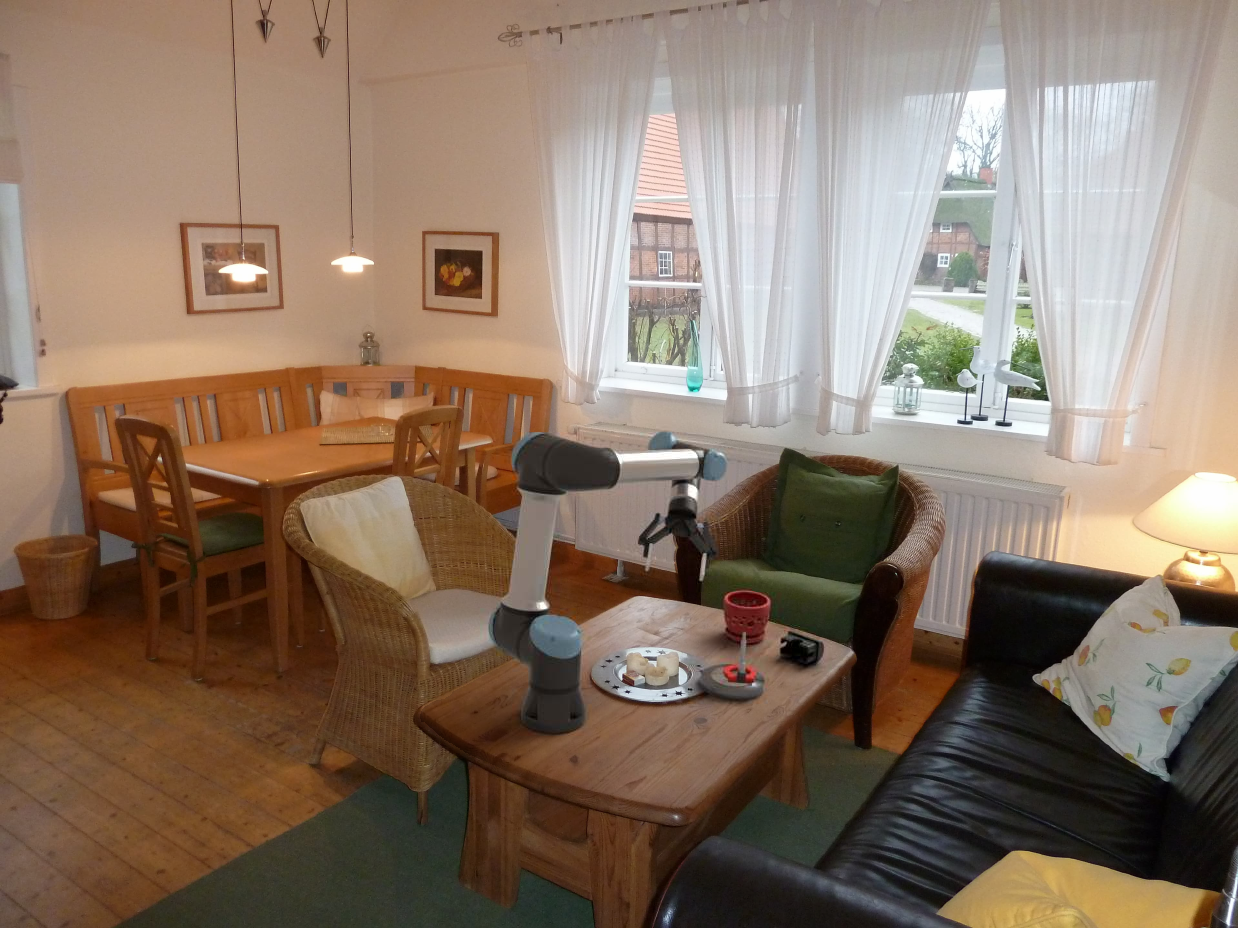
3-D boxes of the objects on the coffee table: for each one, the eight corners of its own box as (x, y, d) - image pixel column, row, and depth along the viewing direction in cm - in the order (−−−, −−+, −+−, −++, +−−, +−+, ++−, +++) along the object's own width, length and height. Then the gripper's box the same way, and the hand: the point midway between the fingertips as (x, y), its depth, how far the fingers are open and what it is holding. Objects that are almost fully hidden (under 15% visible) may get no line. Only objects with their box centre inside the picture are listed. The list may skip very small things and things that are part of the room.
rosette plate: (705, 700, 237) (705, 689, 237) (696, 672, 253) (697, 662, 252) (769, 701, 238) (770, 690, 238) (757, 673, 254) (757, 663, 253)
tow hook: (722, 667, 250) (724, 681, 241) (725, 620, 248) (727, 632, 239) (754, 670, 250) (757, 684, 241) (758, 622, 248) (761, 634, 239)
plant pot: (717, 628, 283) (719, 590, 280) (761, 628, 284) (764, 590, 282) (726, 646, 270) (729, 606, 267) (772, 646, 272) (776, 606, 269)
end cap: (823, 662, 263) (825, 638, 261) (808, 669, 258) (810, 645, 256) (792, 650, 270) (794, 627, 268) (777, 657, 265) (779, 634, 263)
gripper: (727, 522, 254) (721, 590, 241) (634, 505, 254) (623, 572, 241) (733, 505, 248) (727, 573, 235) (637, 487, 249) (626, 555, 235)
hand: (674, 573), depth 238 cm, fingers open, 13 cm apart
